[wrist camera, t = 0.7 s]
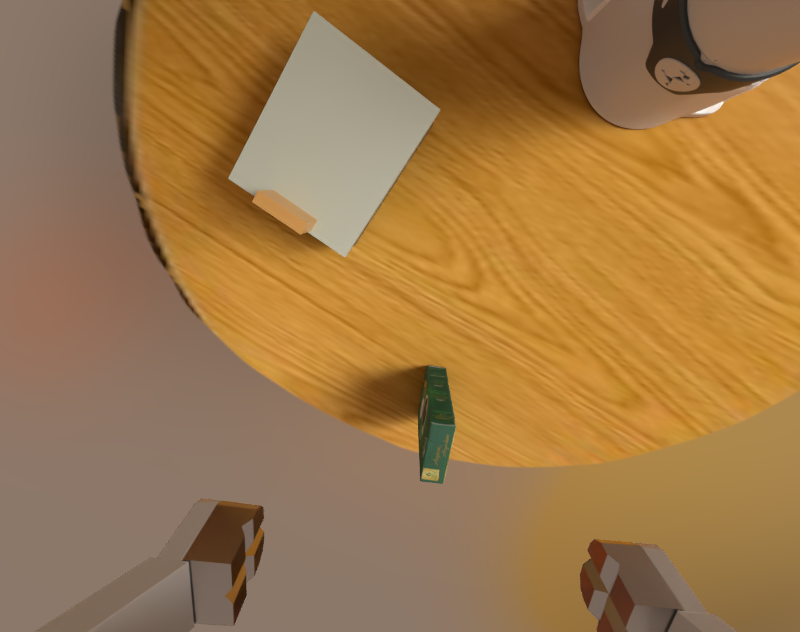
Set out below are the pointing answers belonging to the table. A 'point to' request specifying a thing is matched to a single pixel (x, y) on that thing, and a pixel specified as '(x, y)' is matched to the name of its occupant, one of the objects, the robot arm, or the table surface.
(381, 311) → the table surface
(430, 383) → the coffee box
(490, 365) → the table surface
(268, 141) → the lid
